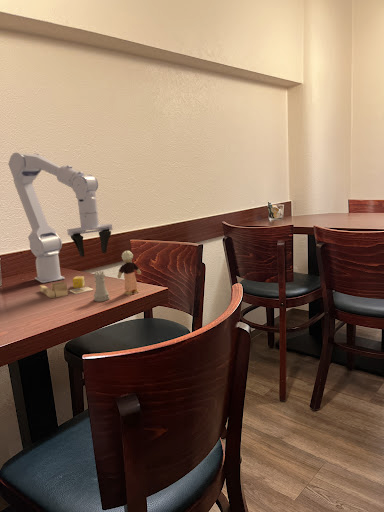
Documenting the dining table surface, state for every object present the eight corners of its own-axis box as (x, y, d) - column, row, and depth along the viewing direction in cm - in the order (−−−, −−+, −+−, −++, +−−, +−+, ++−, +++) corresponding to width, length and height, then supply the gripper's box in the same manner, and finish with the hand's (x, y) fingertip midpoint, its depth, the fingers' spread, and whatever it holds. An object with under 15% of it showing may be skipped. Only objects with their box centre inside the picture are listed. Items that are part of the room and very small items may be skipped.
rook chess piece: (106, 302, 111) (103, 274, 110) (91, 302, 112) (88, 274, 111) (112, 297, 116) (109, 270, 114) (97, 297, 116) (95, 270, 115)
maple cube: (52, 295, 122) (51, 283, 121) (63, 292, 124) (62, 281, 123) (56, 297, 119) (54, 285, 118) (67, 294, 121) (66, 283, 120)
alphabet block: (85, 284, 132) (84, 275, 132) (82, 287, 129) (81, 278, 129) (75, 285, 132) (74, 276, 132) (73, 287, 129) (72, 278, 129)
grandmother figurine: (135, 289, 123) (131, 248, 121) (144, 290, 121) (140, 249, 118) (116, 295, 117) (112, 252, 115) (125, 297, 115) (121, 253, 112)
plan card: (69, 290, 125) (69, 290, 125) (87, 287, 129) (87, 286, 129) (74, 294, 121) (74, 293, 121) (93, 289, 125) (93, 289, 125)
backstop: (40, 291, 127) (39, 285, 127) (43, 290, 128) (43, 284, 128) (51, 298, 118) (50, 292, 118) (55, 297, 119) (54, 291, 118)
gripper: (70, 215, 123) (76, 259, 125) (114, 211, 131) (118, 252, 133) (63, 215, 128) (68, 257, 131) (105, 210, 136) (109, 250, 139)
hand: (93, 254), depth 132 cm, fingers open, 7 cm apart
